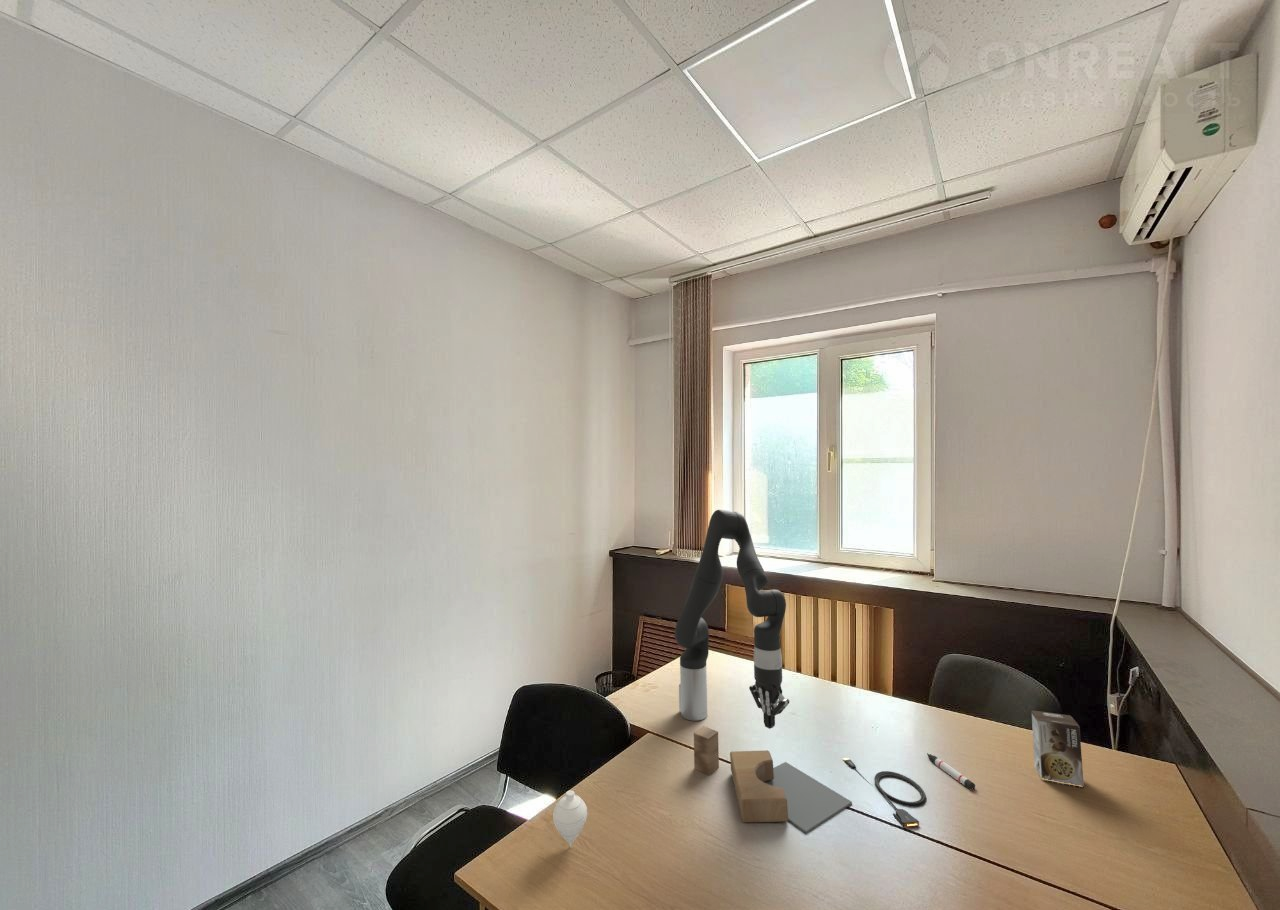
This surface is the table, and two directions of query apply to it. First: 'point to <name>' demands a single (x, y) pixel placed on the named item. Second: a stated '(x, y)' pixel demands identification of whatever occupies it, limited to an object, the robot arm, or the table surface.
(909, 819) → the cable
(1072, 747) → the coffee box
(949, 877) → the table surface
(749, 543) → the robot arm
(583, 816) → the spinning top
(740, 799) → the decorative block
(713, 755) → the walnut block
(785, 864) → the table surface
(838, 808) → the mat
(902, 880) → the table surface
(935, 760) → the marker
